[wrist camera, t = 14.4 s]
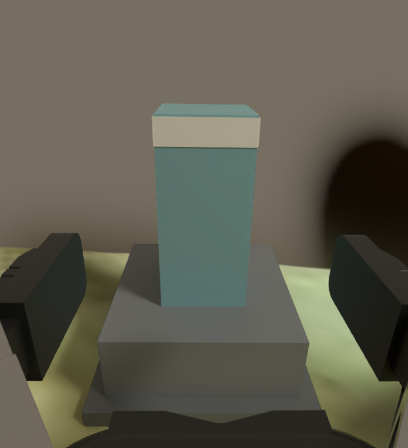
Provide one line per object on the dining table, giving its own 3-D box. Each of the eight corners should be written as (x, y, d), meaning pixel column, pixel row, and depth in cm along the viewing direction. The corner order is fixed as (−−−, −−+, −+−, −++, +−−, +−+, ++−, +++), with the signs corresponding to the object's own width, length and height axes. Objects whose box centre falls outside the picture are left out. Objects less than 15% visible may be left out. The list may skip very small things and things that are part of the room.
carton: (160, 307, 21) (151, 114, 16) (167, 263, 26) (161, 103, 21) (245, 307, 21) (260, 115, 17) (237, 263, 26) (247, 104, 21)
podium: (83, 425, 19) (71, 356, 17) (128, 288, 31) (123, 238, 29) (320, 425, 20) (334, 357, 18) (274, 289, 31) (280, 239, 29)
